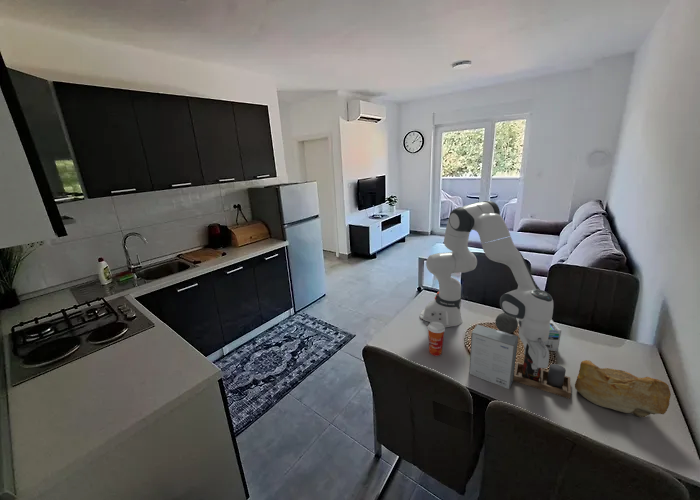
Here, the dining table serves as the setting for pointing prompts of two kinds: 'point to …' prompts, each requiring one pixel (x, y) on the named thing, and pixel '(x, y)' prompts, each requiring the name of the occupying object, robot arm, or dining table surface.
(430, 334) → the red and orange canister
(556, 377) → the black rubber plug
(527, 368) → the deodorant
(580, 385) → the rough brown rock
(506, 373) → the hard drive box
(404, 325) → the dining table surface
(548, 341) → the light bulb box
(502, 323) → the decorative ball
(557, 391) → the walnut rack
